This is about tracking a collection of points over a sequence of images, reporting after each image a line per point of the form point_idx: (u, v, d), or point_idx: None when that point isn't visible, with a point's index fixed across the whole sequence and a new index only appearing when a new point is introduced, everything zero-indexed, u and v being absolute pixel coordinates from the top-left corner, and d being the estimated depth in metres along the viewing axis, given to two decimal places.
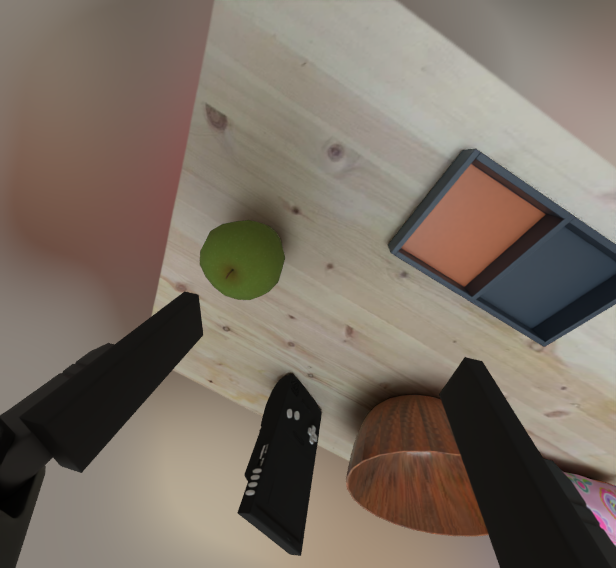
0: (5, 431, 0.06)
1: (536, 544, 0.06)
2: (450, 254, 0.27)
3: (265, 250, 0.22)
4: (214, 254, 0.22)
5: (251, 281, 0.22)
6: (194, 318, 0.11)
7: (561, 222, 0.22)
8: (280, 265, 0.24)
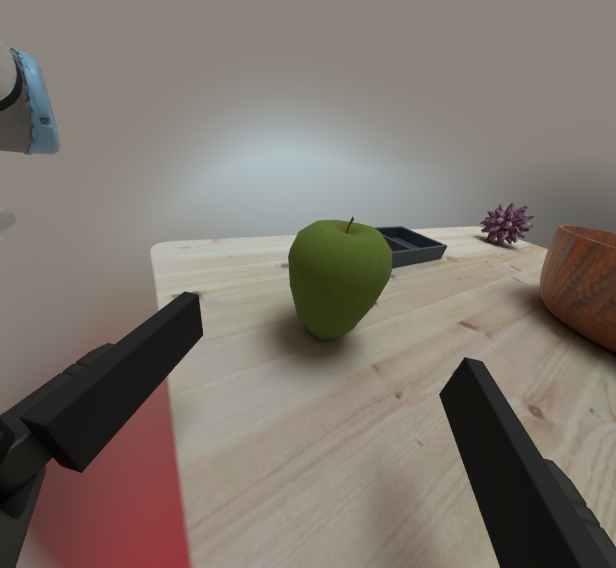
0: (5, 431, 0.06)
1: (536, 544, 0.06)
2: None
3: None
4: (320, 224, 0.17)
5: None
6: (194, 318, 0.11)
7: None
8: None
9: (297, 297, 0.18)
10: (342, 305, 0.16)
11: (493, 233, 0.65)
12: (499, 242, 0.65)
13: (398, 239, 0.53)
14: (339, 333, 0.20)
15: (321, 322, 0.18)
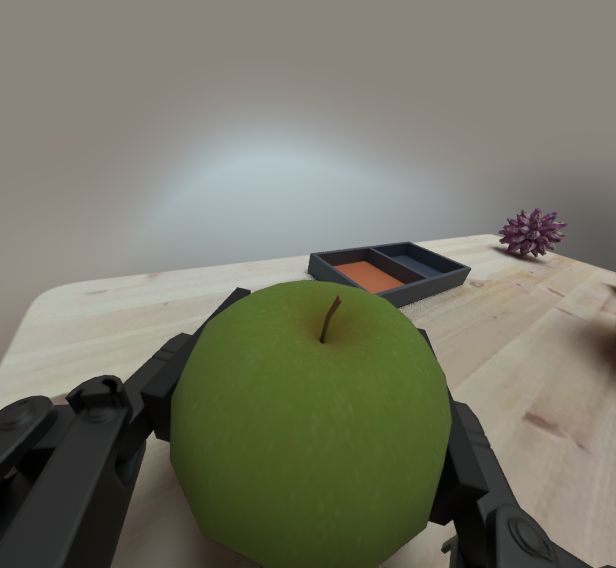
0: (129, 407, 0.07)
1: None
2: (385, 290, 0.30)
3: None
4: (250, 317, 0.06)
5: (369, 295, 0.08)
6: None
7: (370, 248, 0.37)
8: None
9: None
10: None
11: (515, 244, 0.55)
12: (523, 255, 0.55)
13: (405, 258, 0.42)
14: None
15: None
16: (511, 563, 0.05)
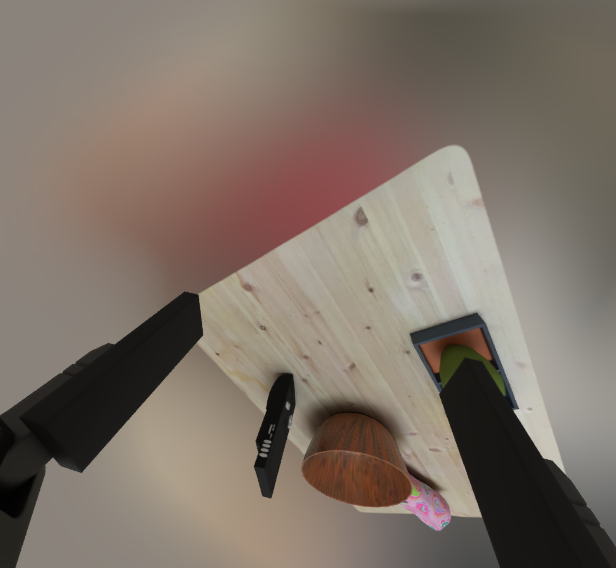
0: (5, 431, 0.06)
1: (536, 544, 0.06)
2: (439, 355, 0.45)
3: None
4: None
5: None
6: (194, 318, 0.11)
7: (497, 370, 0.41)
8: None
9: (447, 358, 0.38)
10: (440, 377, 0.39)
11: None
12: None
13: None
14: None
15: (440, 361, 0.41)
16: None
